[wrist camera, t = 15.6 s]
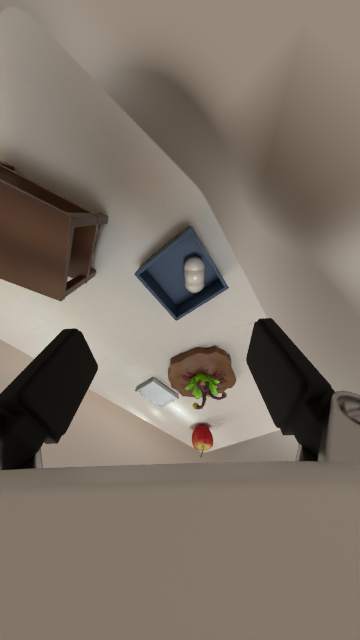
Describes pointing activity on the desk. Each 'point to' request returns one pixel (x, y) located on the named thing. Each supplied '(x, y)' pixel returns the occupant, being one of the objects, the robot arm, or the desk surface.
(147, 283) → the bin
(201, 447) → the apple
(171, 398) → the hard drive
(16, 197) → the side table
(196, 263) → the white capsule
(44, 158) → the desk surface
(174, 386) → the plant
